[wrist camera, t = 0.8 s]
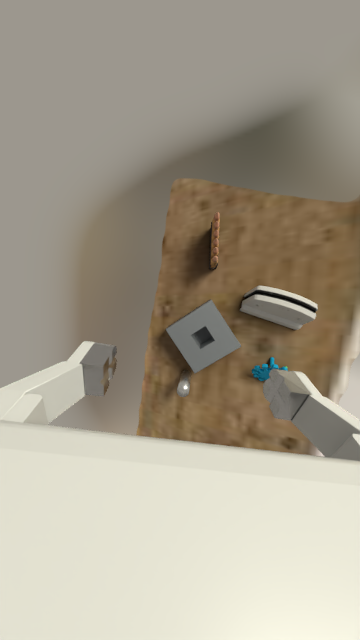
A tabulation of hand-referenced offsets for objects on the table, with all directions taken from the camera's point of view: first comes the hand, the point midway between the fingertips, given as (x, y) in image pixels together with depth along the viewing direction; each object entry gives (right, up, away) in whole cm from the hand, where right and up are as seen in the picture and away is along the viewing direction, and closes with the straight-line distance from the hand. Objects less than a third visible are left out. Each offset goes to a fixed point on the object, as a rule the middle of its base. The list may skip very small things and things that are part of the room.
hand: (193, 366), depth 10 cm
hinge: (+25, +6, +42) cm, 49 cm away
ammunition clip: (+8, +22, +41) cm, 47 cm away
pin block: (+6, -1, +45) cm, 45 cm away
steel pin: (+1, -14, +47) cm, 49 cm away
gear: (+25, -12, +44) cm, 52 cm away
